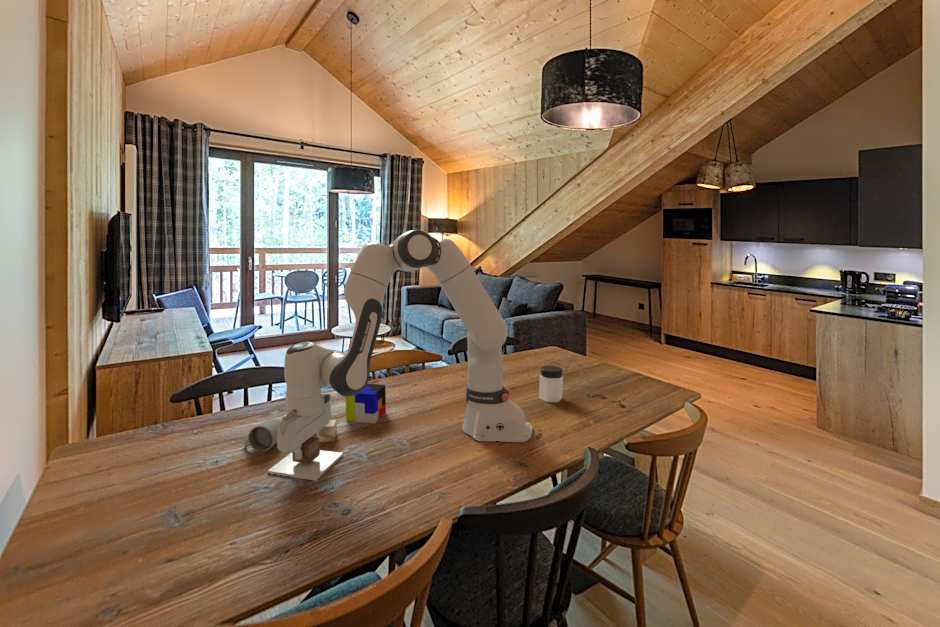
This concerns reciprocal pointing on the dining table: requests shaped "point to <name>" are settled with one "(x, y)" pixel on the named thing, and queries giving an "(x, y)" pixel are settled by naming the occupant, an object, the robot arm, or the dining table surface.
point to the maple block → (328, 432)
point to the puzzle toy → (366, 404)
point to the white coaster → (306, 466)
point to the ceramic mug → (263, 435)
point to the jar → (551, 384)
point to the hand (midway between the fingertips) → (306, 452)
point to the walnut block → (309, 450)
